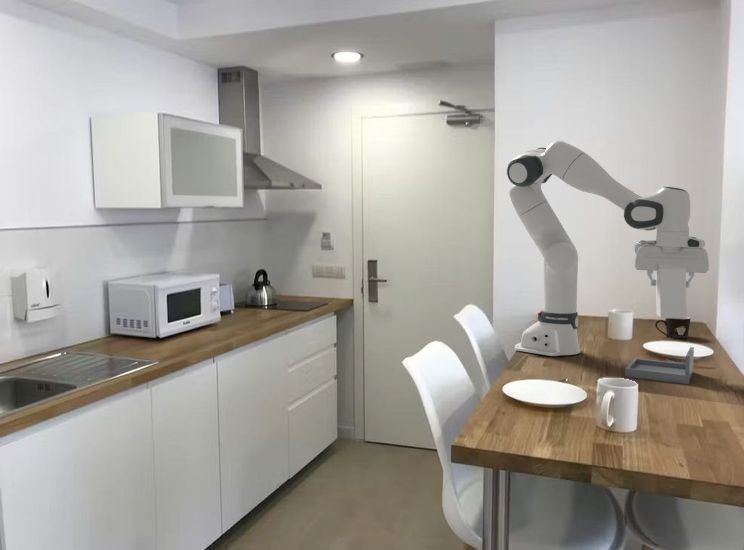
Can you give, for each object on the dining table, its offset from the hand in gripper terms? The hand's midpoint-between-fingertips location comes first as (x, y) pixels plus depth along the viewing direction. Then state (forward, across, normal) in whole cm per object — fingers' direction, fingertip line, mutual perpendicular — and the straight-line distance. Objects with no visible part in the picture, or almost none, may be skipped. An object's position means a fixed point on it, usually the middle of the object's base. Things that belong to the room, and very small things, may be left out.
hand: (669, 286), depth 185 cm
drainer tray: (+27, -1, -4) cm, 27 cm away
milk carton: (+10, +1, 0) cm, 10 cm away
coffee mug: (+27, -2, +51) cm, 58 cm away
